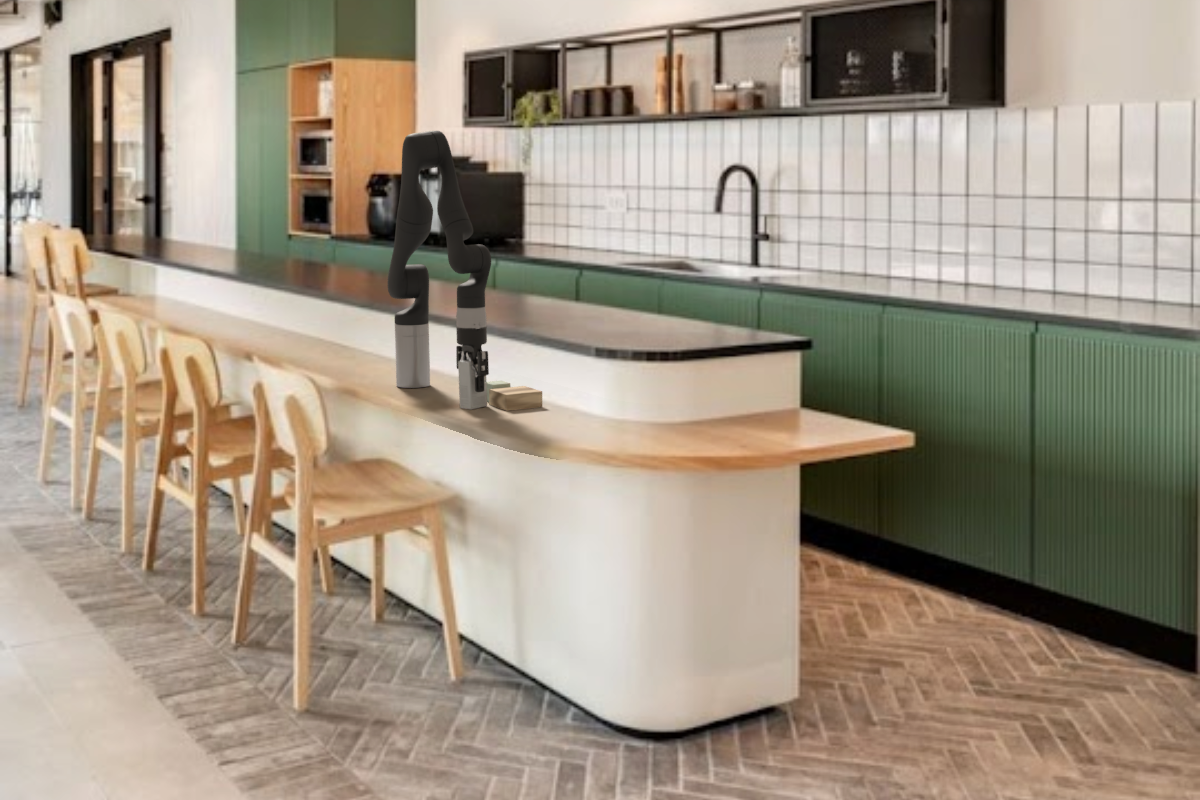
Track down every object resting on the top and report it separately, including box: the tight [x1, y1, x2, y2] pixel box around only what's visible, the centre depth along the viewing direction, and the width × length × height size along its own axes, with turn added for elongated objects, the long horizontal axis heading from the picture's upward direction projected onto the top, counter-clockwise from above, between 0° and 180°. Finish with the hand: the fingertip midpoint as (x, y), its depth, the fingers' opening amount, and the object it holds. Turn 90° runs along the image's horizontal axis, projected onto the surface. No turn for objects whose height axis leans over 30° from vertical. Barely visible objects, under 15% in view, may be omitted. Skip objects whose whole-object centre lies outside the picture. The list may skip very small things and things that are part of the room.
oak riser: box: [488, 385, 543, 412], centre depth 370 cm, size 10×10×4 cm
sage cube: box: [486, 380, 511, 403], centre depth 376 cm, size 5×5×5 cm
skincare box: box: [457, 360, 488, 410], centre depth 368 cm, size 6×4×12 cm
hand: (472, 389), depth 368 cm, fingers open, 8 cm apart
